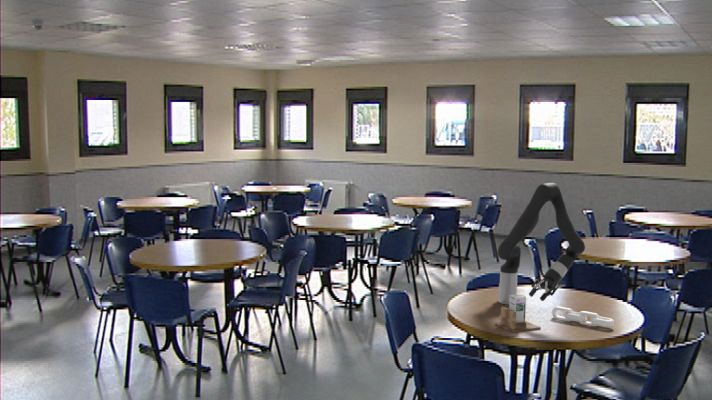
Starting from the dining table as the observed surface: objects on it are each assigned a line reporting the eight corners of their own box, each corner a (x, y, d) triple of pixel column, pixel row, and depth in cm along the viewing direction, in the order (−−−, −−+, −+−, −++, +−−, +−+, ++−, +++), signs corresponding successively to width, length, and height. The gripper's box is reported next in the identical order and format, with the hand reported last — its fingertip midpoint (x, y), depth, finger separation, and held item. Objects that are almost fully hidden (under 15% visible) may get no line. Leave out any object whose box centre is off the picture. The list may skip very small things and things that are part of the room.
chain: (550, 319, 348) (550, 307, 347) (554, 316, 353) (555, 304, 352) (610, 331, 330) (611, 318, 329) (614, 328, 334) (615, 315, 334)
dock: (495, 324, 336) (495, 306, 335) (522, 321, 342) (523, 303, 341) (512, 332, 323) (513, 313, 322) (540, 329, 329) (541, 310, 328)
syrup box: (514, 327, 328) (515, 297, 327) (508, 323, 334) (509, 294, 332) (525, 326, 330) (526, 296, 328) (518, 323, 336) (520, 293, 334)
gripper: (542, 265, 343) (522, 289, 340) (561, 270, 330) (540, 296, 327) (550, 274, 346) (530, 299, 343) (569, 281, 333) (549, 306, 330)
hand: (535, 297), depth 335 cm, fingers open, 8 cm apart
